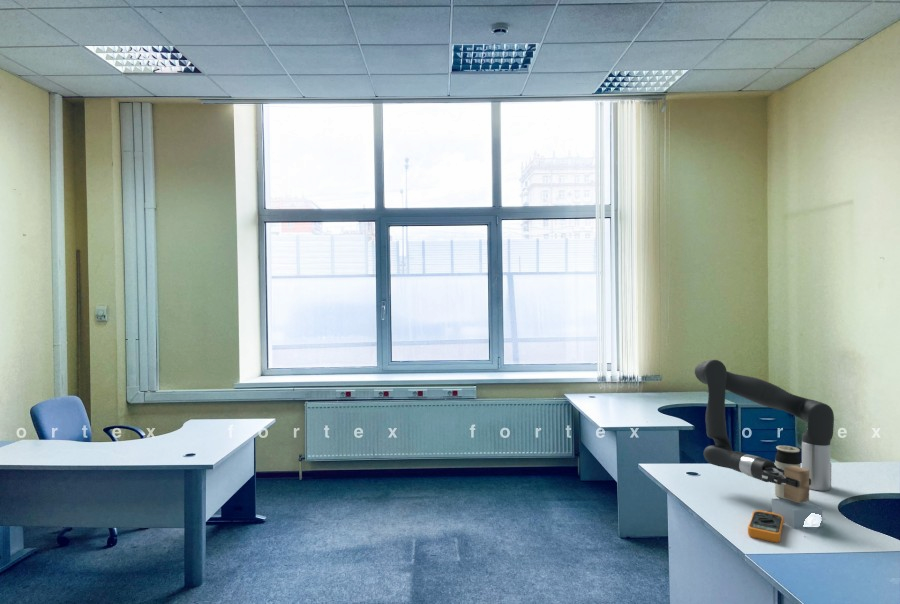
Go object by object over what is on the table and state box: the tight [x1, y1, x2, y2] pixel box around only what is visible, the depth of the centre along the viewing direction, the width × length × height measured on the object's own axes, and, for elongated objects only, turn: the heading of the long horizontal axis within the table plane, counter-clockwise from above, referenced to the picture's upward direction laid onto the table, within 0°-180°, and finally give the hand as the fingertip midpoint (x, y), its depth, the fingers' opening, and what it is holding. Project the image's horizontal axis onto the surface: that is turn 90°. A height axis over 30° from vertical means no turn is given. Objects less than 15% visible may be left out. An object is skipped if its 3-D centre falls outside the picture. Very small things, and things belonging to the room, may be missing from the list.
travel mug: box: [774, 445, 802, 498], centre depth 200 cm, size 8×8×18 cm
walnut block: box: [784, 466, 810, 503], centre depth 178 cm, size 5×5×10 cm
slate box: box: [771, 497, 824, 529], centre depth 178 cm, size 10×10×6 cm
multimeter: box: [747, 510, 785, 544], centre depth 172 cm, size 9×18×3 cm, turn 145°
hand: (804, 483), depth 176 cm, fingers closed on walnut block, 5 cm apart
